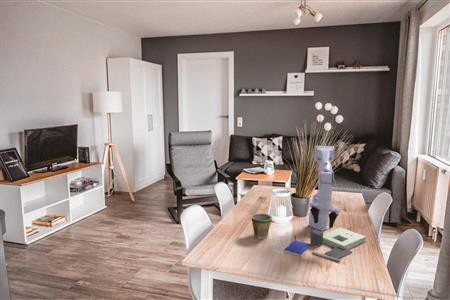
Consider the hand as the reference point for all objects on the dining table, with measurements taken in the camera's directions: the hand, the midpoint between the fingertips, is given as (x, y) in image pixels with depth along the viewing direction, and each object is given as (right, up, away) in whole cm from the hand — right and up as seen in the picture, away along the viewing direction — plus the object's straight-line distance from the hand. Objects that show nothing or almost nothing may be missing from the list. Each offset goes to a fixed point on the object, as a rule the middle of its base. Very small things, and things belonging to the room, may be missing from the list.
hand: (323, 225), depth 150 cm
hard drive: (-13, -11, -3) cm, 17 cm away
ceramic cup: (-28, -8, +12) cm, 31 cm away
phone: (+4, -11, -8) cm, 14 cm away
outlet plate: (+11, -9, +5) cm, 15 cm away
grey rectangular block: (-3, -9, +2) cm, 10 cm away
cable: (-3, -11, -12) cm, 16 cm away
